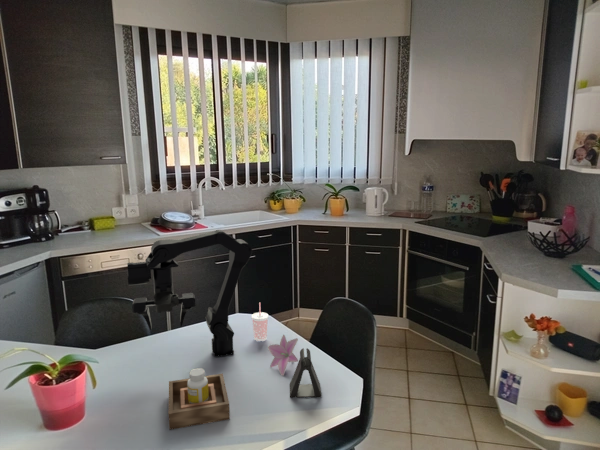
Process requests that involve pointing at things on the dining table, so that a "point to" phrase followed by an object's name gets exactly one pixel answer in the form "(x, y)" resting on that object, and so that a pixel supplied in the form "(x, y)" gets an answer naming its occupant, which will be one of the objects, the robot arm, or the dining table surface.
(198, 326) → the dining table surface
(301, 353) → the phone stand
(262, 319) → the beverage cup
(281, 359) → the lily
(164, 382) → the dining table surface
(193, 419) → the box
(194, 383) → the supplement bottle
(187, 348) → the dining table surface
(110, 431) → the dining table surface
